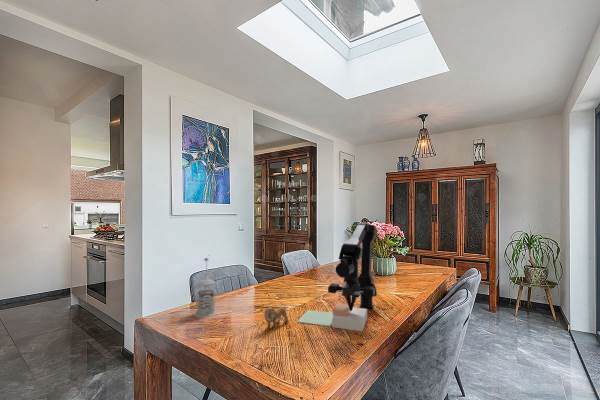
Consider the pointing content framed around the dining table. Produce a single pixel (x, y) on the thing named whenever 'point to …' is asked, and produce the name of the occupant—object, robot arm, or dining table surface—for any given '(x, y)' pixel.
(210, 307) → the french press
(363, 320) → the board
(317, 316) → the mat
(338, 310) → the tile
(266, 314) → the lion figurine
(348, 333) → the dining table surface
